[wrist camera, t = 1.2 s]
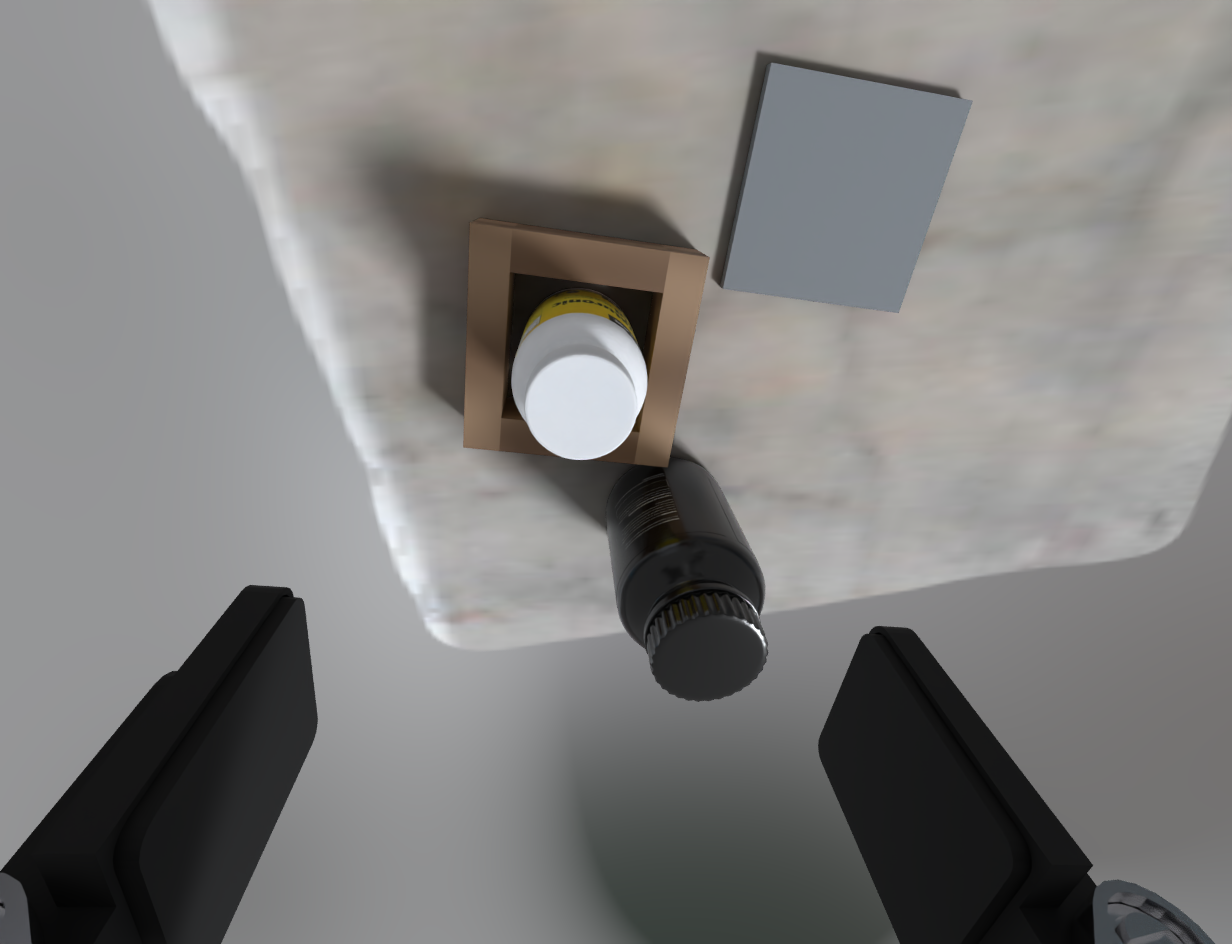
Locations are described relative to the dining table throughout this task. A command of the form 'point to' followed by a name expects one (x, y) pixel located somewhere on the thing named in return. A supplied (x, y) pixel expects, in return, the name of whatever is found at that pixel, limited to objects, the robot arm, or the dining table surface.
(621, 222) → the dining table surface
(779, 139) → the slate mat
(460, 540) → the dining table surface
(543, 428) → the supplement bottle
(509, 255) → the walnut collar
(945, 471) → the dining table surface
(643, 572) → the supplement bottle
